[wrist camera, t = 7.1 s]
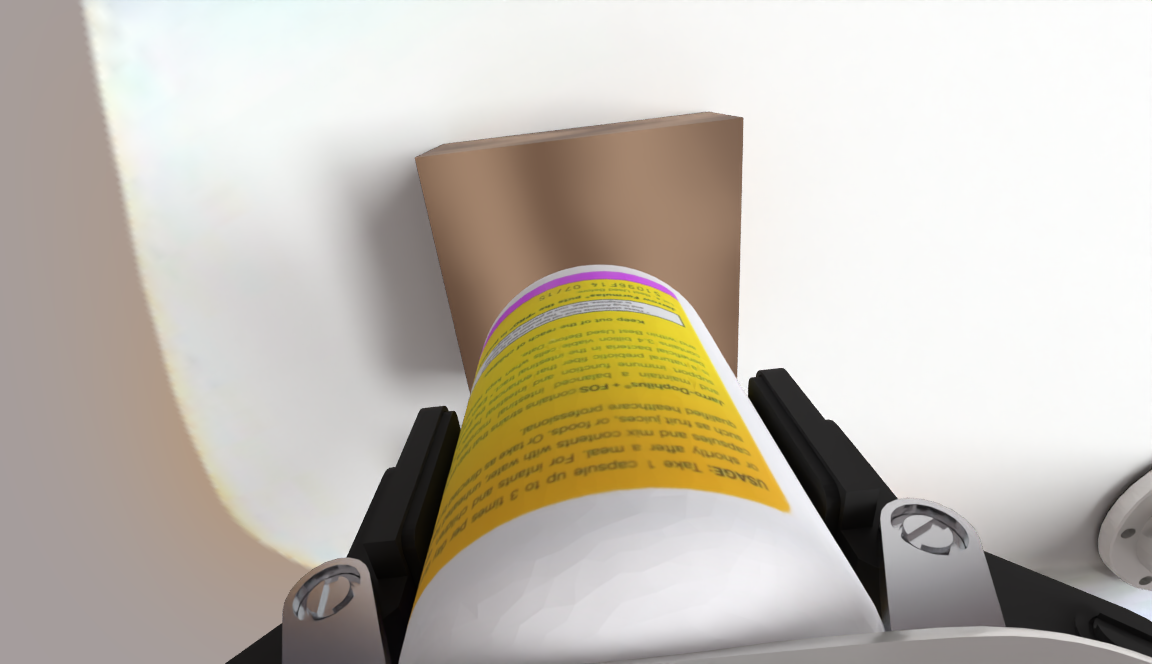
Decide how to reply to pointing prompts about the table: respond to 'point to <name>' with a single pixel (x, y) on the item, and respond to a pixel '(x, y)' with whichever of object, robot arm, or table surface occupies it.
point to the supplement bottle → (619, 496)
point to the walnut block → (590, 215)
